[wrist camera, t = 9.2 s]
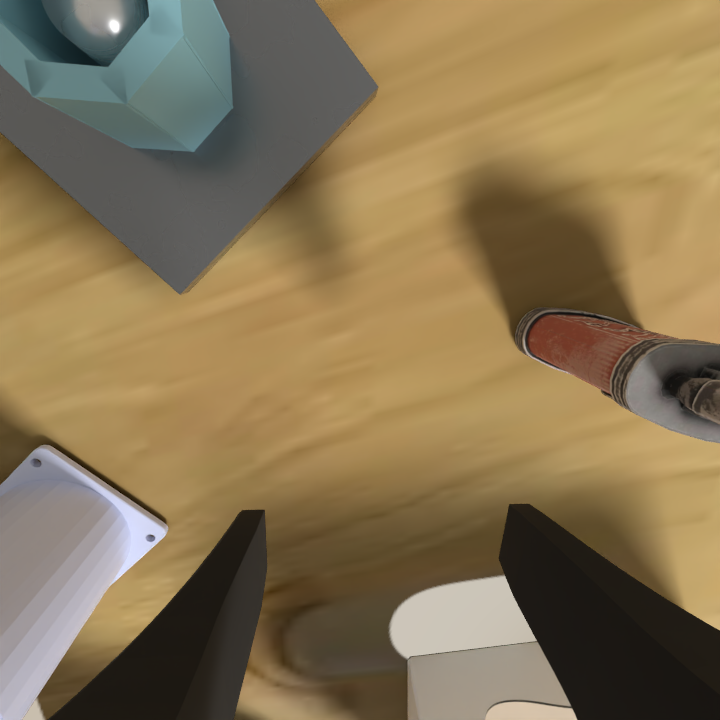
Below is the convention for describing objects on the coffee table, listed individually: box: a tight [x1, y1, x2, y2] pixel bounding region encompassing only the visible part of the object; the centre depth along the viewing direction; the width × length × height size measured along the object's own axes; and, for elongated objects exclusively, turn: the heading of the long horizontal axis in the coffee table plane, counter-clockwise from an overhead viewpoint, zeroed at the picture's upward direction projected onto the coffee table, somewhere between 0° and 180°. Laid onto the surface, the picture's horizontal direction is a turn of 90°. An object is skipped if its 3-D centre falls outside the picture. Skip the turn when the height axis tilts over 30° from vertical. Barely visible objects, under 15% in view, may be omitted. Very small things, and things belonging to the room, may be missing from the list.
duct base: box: [0, 0, 378, 295], centre depth 12 cm, size 12×12×5 cm
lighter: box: [515, 307, 720, 443], centre depth 15 cm, size 8×3×10 cm, turn 76°
